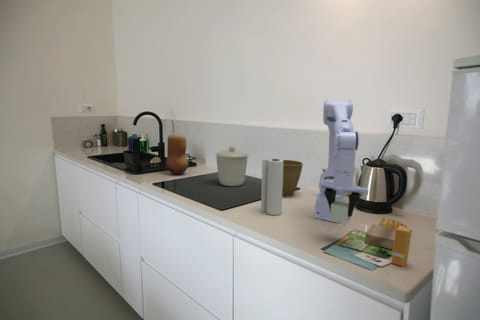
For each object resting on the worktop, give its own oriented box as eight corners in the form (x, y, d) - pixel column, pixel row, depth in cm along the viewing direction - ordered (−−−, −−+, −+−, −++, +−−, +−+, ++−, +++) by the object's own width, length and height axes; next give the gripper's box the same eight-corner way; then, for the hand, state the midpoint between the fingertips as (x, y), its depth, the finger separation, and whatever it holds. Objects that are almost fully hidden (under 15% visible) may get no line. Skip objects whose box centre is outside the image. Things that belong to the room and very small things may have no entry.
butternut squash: (192, 173, 198) (192, 133, 194) (180, 177, 186) (179, 135, 182) (174, 171, 203) (173, 132, 199) (161, 175, 191) (160, 133, 187)
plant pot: (279, 200, 142) (280, 165, 139) (264, 192, 156) (265, 160, 153) (307, 197, 147) (309, 163, 145) (290, 189, 161) (292, 159, 159)
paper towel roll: (284, 213, 125) (286, 159, 121) (275, 216, 121) (277, 161, 117) (270, 208, 130) (272, 157, 126) (260, 212, 126) (262, 159, 122)
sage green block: (330, 219, 98) (331, 204, 97) (335, 215, 102) (336, 200, 101) (346, 223, 95) (347, 207, 94) (351, 218, 99) (352, 203, 98)
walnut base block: (364, 243, 98) (365, 233, 97) (372, 233, 106) (372, 224, 105) (400, 251, 92) (401, 242, 92) (405, 240, 100) (406, 231, 100)
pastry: (409, 230, 109) (410, 220, 108) (407, 237, 103) (408, 226, 103) (380, 225, 114) (381, 214, 114) (376, 230, 109) (377, 220, 108)
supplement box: (404, 267, 83) (408, 231, 81) (390, 263, 85) (394, 228, 83) (408, 263, 85) (412, 228, 84) (394, 259, 87) (398, 224, 86)
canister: (250, 181, 178) (251, 144, 175) (245, 189, 161) (246, 148, 157) (219, 179, 181) (219, 143, 178) (211, 187, 164) (211, 147, 160)
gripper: (316, 170, 97) (313, 212, 99) (365, 176, 88) (361, 222, 91) (324, 166, 102) (322, 207, 104) (371, 172, 94) (367, 216, 96)
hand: (341, 214), depth 98 cm, fingers closed on sage green block, 5 cm apart
